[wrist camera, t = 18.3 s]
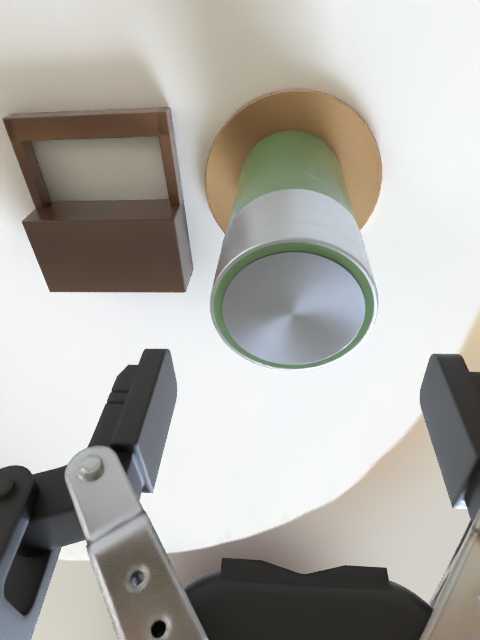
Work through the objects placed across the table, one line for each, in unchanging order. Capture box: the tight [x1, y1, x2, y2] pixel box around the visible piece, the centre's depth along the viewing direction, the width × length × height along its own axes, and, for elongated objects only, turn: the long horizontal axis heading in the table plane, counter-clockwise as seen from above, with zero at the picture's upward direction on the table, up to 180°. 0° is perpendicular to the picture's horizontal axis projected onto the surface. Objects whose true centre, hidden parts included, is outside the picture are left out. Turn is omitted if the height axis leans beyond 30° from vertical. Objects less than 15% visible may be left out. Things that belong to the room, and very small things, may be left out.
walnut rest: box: [3, 107, 193, 292], centre depth 25 cm, size 10×9×3 cm
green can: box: [210, 130, 378, 371], centre depth 20 cm, size 13×6×13 cm
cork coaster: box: [205, 89, 382, 233], centre depth 25 cm, size 10×10×1 cm
